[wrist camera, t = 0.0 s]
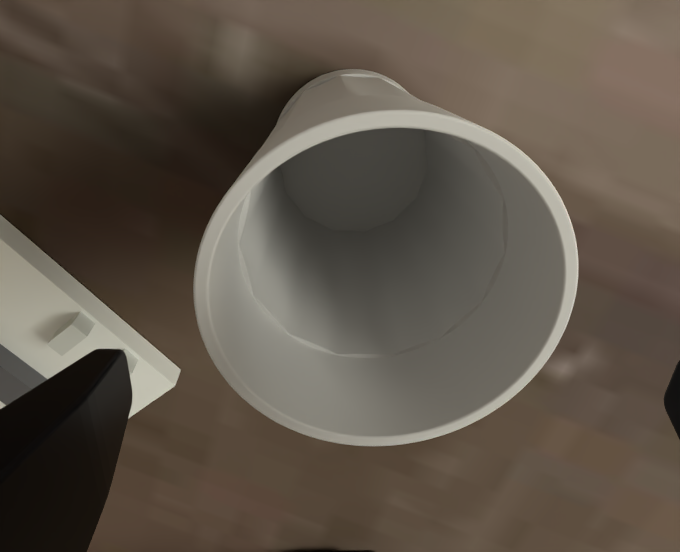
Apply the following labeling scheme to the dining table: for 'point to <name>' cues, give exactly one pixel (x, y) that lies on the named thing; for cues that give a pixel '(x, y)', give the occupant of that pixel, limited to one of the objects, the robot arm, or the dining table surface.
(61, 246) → the dining table surface
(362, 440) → the cup
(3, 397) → the white slide rail base
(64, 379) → the robot arm
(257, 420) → the dining table surface
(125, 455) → the dining table surface
